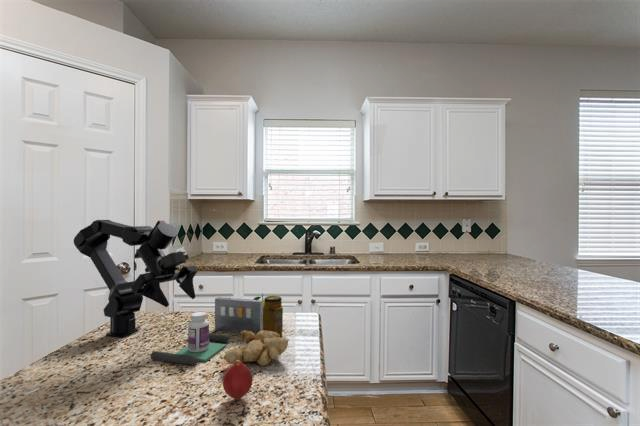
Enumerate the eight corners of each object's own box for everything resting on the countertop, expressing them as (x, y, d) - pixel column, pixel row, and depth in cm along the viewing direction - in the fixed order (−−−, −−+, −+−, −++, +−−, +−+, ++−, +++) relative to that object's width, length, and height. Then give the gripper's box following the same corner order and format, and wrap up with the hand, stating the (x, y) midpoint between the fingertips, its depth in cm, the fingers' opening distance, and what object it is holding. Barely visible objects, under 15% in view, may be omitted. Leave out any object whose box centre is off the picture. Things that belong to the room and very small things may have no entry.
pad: (171, 357, 84) (171, 355, 84) (195, 343, 94) (195, 341, 94) (205, 362, 82) (205, 359, 82) (226, 346, 91) (226, 344, 91)
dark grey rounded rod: (150, 360, 82) (150, 352, 82) (156, 357, 84) (156, 349, 84) (194, 366, 79) (195, 358, 79) (199, 363, 81) (199, 355, 81)
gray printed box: (213, 330, 104) (213, 299, 104) (218, 327, 107) (218, 297, 107) (258, 335, 100) (258, 302, 100) (262, 331, 103) (262, 300, 103)
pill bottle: (208, 344, 92) (208, 310, 92) (209, 351, 87) (209, 315, 87) (187, 346, 90) (188, 312, 90) (187, 354, 85) (188, 317, 85)
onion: (226, 392, 68) (226, 353, 68) (253, 390, 68) (254, 353, 68) (220, 408, 62) (220, 366, 62) (250, 407, 62) (250, 365, 63)
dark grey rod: (188, 339, 97) (188, 332, 97) (192, 336, 99) (192, 330, 99) (227, 343, 94) (227, 336, 94) (230, 341, 95) (230, 334, 96)
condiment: (279, 331, 104) (280, 293, 104) (289, 340, 96) (289, 300, 97) (257, 334, 101) (257, 296, 101) (265, 344, 93) (265, 302, 93)
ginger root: (293, 340, 93) (291, 315, 91) (286, 380, 77) (284, 351, 76) (239, 341, 93) (237, 316, 92) (222, 381, 78) (218, 352, 76)
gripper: (139, 244, 85) (168, 290, 80) (194, 239, 102) (220, 278, 97) (119, 271, 88) (146, 317, 83) (175, 262, 105) (200, 300, 100)
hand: (181, 301), depth 91 cm, fingers open, 9 cm apart
